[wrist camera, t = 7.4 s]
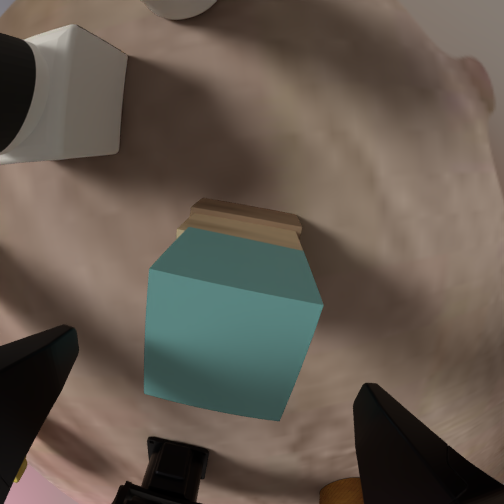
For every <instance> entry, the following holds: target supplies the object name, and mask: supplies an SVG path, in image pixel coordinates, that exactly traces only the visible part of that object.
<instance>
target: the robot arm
mask: <svg viewBox="0 0 504 504" xmlns="http://www.w3.org/2000/svg"><path fill="white" fill-rule="evenodd" d="M78 353H79V346H78V338H77V331H76V329H75V328H74V327H72V326H69V325H65V324H63V325H60V326H57V327H54V328H52V329H49V330H46V331H43V332H40V333H37V334H34V335H31V336H28V337H26V338H23V339H20V340H17V341H14V342H11V343H8V344H5V345H2V346H0V504H4V502H5V500H6V497H7V495H8V493H9V491H10V488H11V486H12V484H13V482H14V479H15V477H16V475H17V473H18V471H19V469H20V467H21V465H22V463H23V461H24V459H25V457H26V455H27V453H28V451H29V449H30V447H31V445H32V443H33V441H34V439H35V438H36V436H37V434H38V432H39V430H40V428H41V426H42V425H43V423H44V421H45V419H46V417H47V416H48V414H49V412H50V410H51V408H52V407H53V405H54V403H55V402H56V400H57V398H58V396H59V394H60V393H61V391H62V389H63V387H64V384H65V382H66V380H67V378H68V375H69V373H70V371H71V369H72V367H73V365H74V362H75V360H76V358H77V356H78ZM353 415H354V432H355V448H356V455H357V461H358V467H359V474H360V480H361V487H362V494H363V501H364V504H504V485H503V484H501V483H500V482H498V481H497V480H495V479H494V478H492V477H491V476H489V475H488V474H486V473H485V472H483V471H482V470H480V469H479V468H477V467H476V466H475V465H473V464H472V463H470V462H469V461H468V460H466V459H465V458H464V457H462V456H461V455H460V454H459V453H457V452H456V451H455V450H454V449H453V448H452V447H450V446H448V445H447V443H446V442H444V441H443V440H442V439H441V438H440V437H438V436H437V435H436V434H435V433H434V432H433V431H431V430H430V429H429V428H428V427H427V426H426V425H424V424H423V423H422V422H421V421H420V420H418V419H417V418H416V417H415V416H414V415H413V414H411V413H410V412H409V411H408V410H407V409H406V408H405V407H403V406H402V405H401V404H400V403H399V402H398V401H396V400H395V399H394V398H393V397H392V396H391V395H389V394H388V393H387V392H386V391H385V390H384V389H383V388H381V387H380V386H379V385H378V384H376V383H364V384H363V385H362V387H361V389H360V391H359V393H358V395H357V397H356V399H355V401H354V404H353ZM147 445H148V456H149V464H148V467H147V470H146V473H145V476H144V479H143V482H142V485H141V486H138V485H135V484H132V483H131V482H129V481H126V483H125V485H120V487H119V489H118V492H117V495H116V497H115V499H114V501H113V502H112V504H201V503H197V502H196V501H197V496H198V490H199V485H200V479H204V478H205V473H206V467H207V461H208V455H209V451H208V450H207V449H202V448H197V447H192V446H188V445H183V444H179V443H174V442H170V441H166V440H162V439H158V438H154V437H148V440H147Z"/></svg>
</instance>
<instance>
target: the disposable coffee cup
mask: <svg viewBox="0 0 504 504" xmlns="http://www.w3.org/2000/svg"><path fill="white" fill-rule="evenodd" d="M319 504H364V501H363V494H362V487H361V480H360V478H347V479H342V480H339V481H335V482H333V483H330V484H328V485H327V486H325V487H324V488H322V489H321V491H320V501H319Z"/></svg>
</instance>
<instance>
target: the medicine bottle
mask: <svg viewBox="0 0 504 504" xmlns="http://www.w3.org/2000/svg"><path fill="white" fill-rule="evenodd" d="M127 60H128V56H127V54H126V53H124V52H122V51H121V50H119V49H118V48H116V47H114V46H113V45H111V44H109V43H108V42H106V41H104V40H103V39H101V38H99V37H97V36H96V35H94V34H92V33H90V32H89V31H87V30H85V29H83V28H82V27H80V26H78V25H75V24H71V25H68V26H64V27H61V28H57V29H54V30H51V31H48V32H45V33H42V34H39V35H36V36H33V37H30V38H27V39H25V40H22V39H19V38H16V37H12V36H9V35H6V34H2V33H0V165H4V164H14V163H25V162H37V161H52V160H63V159H72V158H81V157H91V156H102V155H114V154H116V153H117V152H118V151H119V143H120V126H121V113H122V102H123V92H124V83H125V75H126V67H127Z"/></svg>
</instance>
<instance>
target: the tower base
mask: <svg viewBox="0 0 504 504" xmlns="http://www.w3.org/2000/svg"><path fill="white" fill-rule="evenodd" d="M194 213H195V214H201V215H207V216H213V217H219V218H224V219H230V220H236V221H241V222H247V223H253V224H258V225H264V226H269V227H274V228H280V229H285V230H290V231H296V234H297V236H298V239H300V235H301V231H302V226H301V224H300V221H299V219H298V217H297V215H295V214H290V213H285V212H279V211H274V210H269V209H264V208H258V207H253V206H247V205H242V204H236V203H230V202H225V201H219V200H213V199H207V198H202V199H201V200H199V201H198V202H197V203H196V204H194V205H193V206H192V207H191V212H190V217H191V216H192V215H193V214H194Z"/></svg>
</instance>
